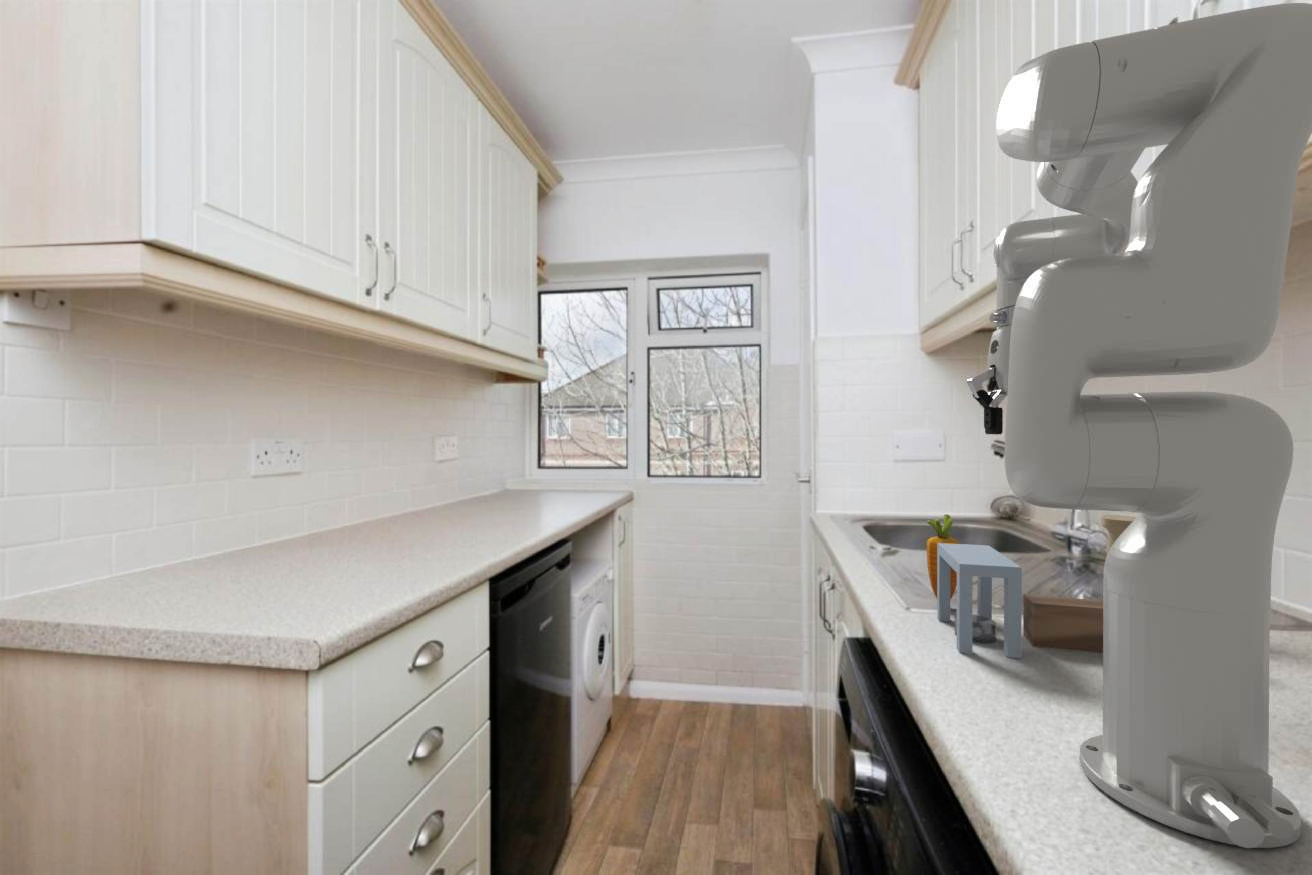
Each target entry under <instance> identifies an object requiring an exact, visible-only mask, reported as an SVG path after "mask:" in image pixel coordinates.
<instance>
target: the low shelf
mask: <svg viewBox="0 0 1312 875" xmlns="http://www.w3.org/2000/svg"><path fill="white" fill-rule="evenodd" d="M950 566H951V567H952V568H953V569H954V570H955V571H956V572H957V586H956V616H957V636H956V649H957V651H958V653H961V654H969V655H972V654H973V642H972V615H973V595H974V594H973V592H974V590H973V581H974V580H973V579H974V578H973V577H975V578H976V577H977V603H976V604H977V614H976V615H977V616H982V617H986V618H989V619H991V620H993V619H992V616H993V614H992V613H993V611H992V610H993V608H992V607H993V606H992V605H993V602H992V600H993V592H992V591H993V590H992V587H993V585H992V584H993V582H992V580H993V579H995V578H997V579H1003V592H1004V593H1003V600H1004V601H1003V653H1004V655H1005V656H1006V657H1007V658H1010V659H1011V658H1012V659H1020V660H1021V659H1022V608H1023V607H1022V605H1023V604H1022V601H1023V600H1022V596H1023V595H1022V587H1023V584H1022V578H1023V577H1022V576H1023V574H1022V573H1023V572H1022V571H1023V570H1022V566H1020V565H1019V564H1017V563H1015V562H1014V561H1013V560H1011V559H1010V558H1009V557H1007V556H1006V555H1003V553H1001V552H999V551H998V550H996V549H995V548H993V547H992V546H990V545H985V544H984V545H983V544H967V543H960V544H948V543H937V598H936V601H937V605H936V607H937V609H936V610H937V612H936V618H937V619H938V621H940V622H948V623H951V600H950ZM992 578H993V579H992Z"/></svg>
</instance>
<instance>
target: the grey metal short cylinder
mask: <svg viewBox="0 0 1312 875" xmlns="http://www.w3.org/2000/svg"><path fill="white" fill-rule="evenodd" d="M954 635H955V636H956V637H957V615H956V616H954ZM996 641H997V623H996V621H995V620H993V619H992V620H991V619H989V618H986V617H982V616H977V614H976V615H975V614H972V643H976V644H977V643H978V644H991V643H995V642H996Z"/></svg>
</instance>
